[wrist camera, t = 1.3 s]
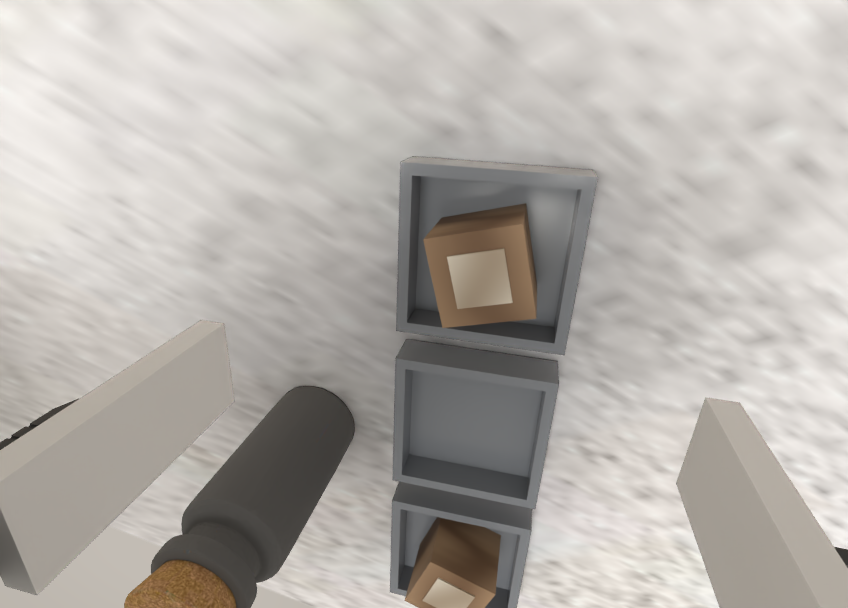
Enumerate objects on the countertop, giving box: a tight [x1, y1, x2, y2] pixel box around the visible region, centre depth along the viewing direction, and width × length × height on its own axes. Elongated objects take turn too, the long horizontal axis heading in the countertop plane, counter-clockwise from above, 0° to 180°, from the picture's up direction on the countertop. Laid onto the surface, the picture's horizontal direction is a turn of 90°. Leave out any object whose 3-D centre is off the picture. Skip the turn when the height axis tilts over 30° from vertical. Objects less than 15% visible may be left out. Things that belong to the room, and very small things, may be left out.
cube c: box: [405, 517, 501, 608], centre depth 33 cm, size 4×4×5 cm
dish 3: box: [390, 481, 532, 608], centre depth 34 cm, size 9×9×2 cm
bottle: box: [124, 386, 354, 608], centre depth 27 cm, size 6×6×15 cm
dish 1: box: [396, 156, 598, 355], centre depth 25 cm, size 9×9×2 cm
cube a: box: [423, 203, 537, 328], centre depth 24 cm, size 4×4×5 cm
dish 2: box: [393, 339, 559, 509], centre depth 30 cm, size 9×9×2 cm
